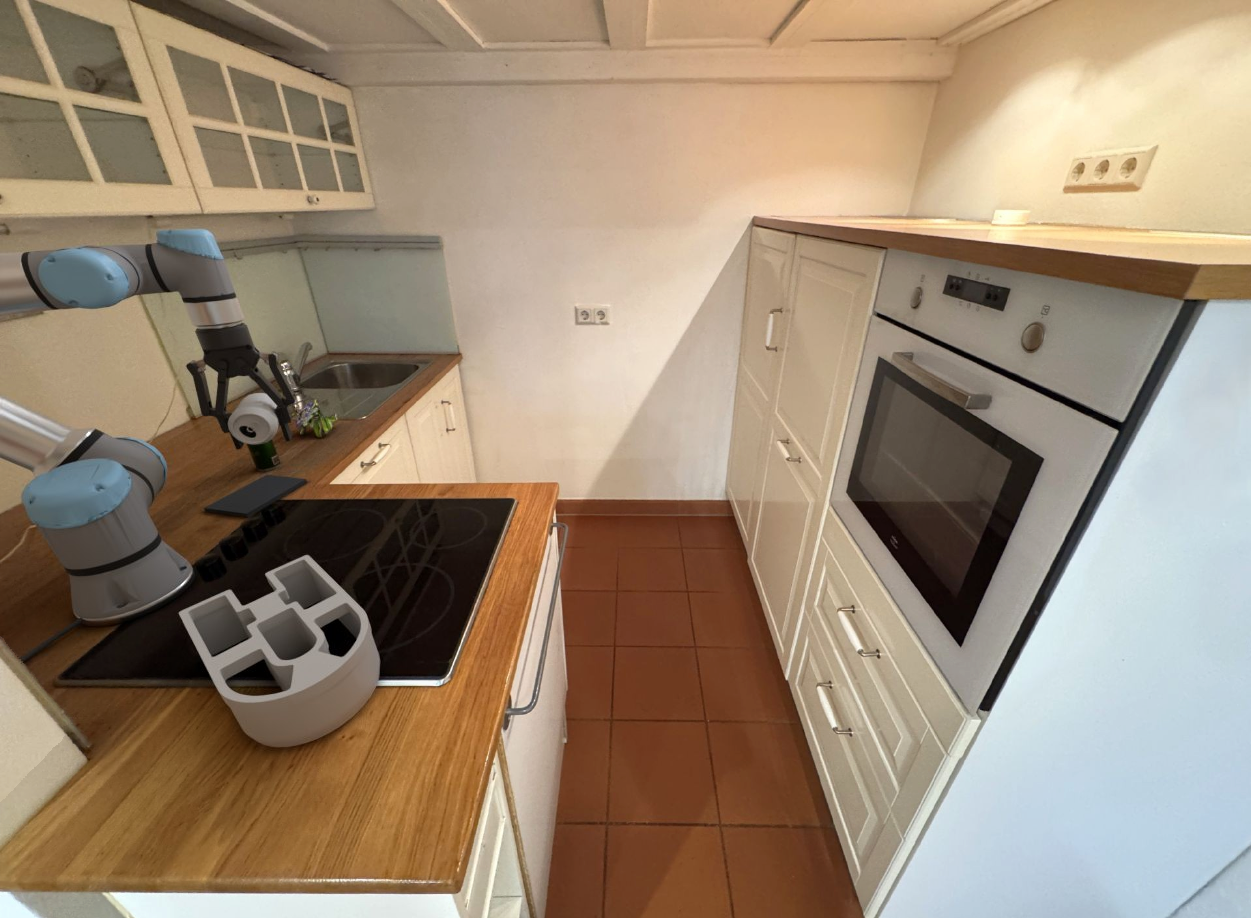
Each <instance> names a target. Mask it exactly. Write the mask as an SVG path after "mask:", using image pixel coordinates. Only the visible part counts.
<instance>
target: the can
mask: <svg viewBox="0 0 1251 918" xmlns="http://www.w3.org/2000/svg"><path fill="white" fill-rule="evenodd" d="M276 407H277V405H276V404H275V403H274V402H273V401H272V400H271V398H270V397H269V396H268V395H267V394H266V393H265V392H255V393H250V394H248V395H246V396H245V397H244V398H243V399H242V400H241V401H240V403H239V404H238V405H237V406H236V408H235V409H234V411H232V412H231V413H232V415H231V416H230V418H229V421H228V427H229V431H230V432H231V434H232V435H233V436H234V437H235V438H236V439H237V440H239V441H241V442H243V443H244V444H246V445H247V444H251V445H258V444H263V443H266V442H268V441H270V440H271V439H272V440H273V438H274V437H275V436H276V435H277V433H278V430H279V428H280V427H281V426H280V424H279V421H278V418H277V415H276V412H275V409H276Z"/></svg>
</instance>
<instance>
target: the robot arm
mask: <svg viewBox="0 0 1251 918" xmlns="http://www.w3.org/2000/svg"><path fill="white" fill-rule="evenodd" d="M155 236H156V242H152V243H146V244H111V245H109V244H108V245H106V244H105V245H95V244H93V245H80V246H74V247H67V248H60V249H47V250H45V249H43V250H33V251H15V252H0V316H9V315H19V314H20V315H21V314H29V313H39V312H48V311H57V310H59V311H60V310H72V309H86V310H98V309H105V308H110V307H114V306H115V305H118V304H119V303H120V302H122V301H125V300H126V299H129V298H132V297H135V296H143V295H155V294H165V293H167V294H168V293H176V292H177V293H179V295H180V297H181V301H182V302H183V305H184V307H185V310H186V313H187V316H188V318H189V320H190V322H191V323H190V324H191V325H192V326H194V327H196V329H195V330H194V332H195V335H196V337H197V340H198V343H199V345H200V347H201V350H202V353H203V357H202V358H201V359H197V360H194V359H193V360H191V361H189V362H188V363H187V364H186V365H185V367H186V369H187V371H188V372H189V373H190V375H191V376H192V379H193V382H194V387H195V393H196V397H197V401H198V406H199V410H200V414H201V416H203V417H214V418H216V420H217V422H218V424H219V427H220V429H221V432H222V433H224V434H228V433H229V435H230V437H231V440H232V442H233V444H234V447H235V449H236V450H242V449H243V447H244V445H245V443H243V442H241V441H239V440H237V439H236V438H235V437H234V436H233V435H232V434H231V432H230V431H229V427H228V421H229V418H230V416H231V415H232V413H233V412H228V413H227V411H228V410H227V405H228V396H229V395H228V394H229V385H230V379H234V378H237V377H248V378H250V379H251V380H252V381H254V382H255V384H256V385H257V386H258V387H259V388H260V390H262V391H263V393H265V394H267V395H268V396H269V397H270V398H271V400H272V401H273V402H274V403H275V404H276V405H277V407H276V409H275V412H276V415H277V418H278V421H279V424H280V426H279V427H280V430H281V432H282V434H283V437H284V440H285V442H290V441H291V440H292V437H293V435H292V432H291V428H290V426H289V424H291V423H292V421H293V417H292V416H291V414H292V413H291V411H290V408H289V406H290V405H294V404H295V402H296V400H297V395H296V393H295V392H294V389H293V388H292V386H291V383H290V382H289V380H288V377H287V376H286V374H285V373H284V370H283V368H282V367H281V365H280V361H279V360H280V359H279V354H278V352H277V351H271V352H263V351H260V350H259V349H258V348H257V347H256V346H255V344H254V341H253V338H252V335H251V333H250V329H249V327H248V325H247V324H246V323H245V322H243V321H244V320H245V316H244V313H243V310H242V308H241V304H240V301H239V300H238V296H237V294H236V291H235V288H234V285H233V283H232V279H231V276H230V274H229V270H228V268H227V265H226V261H225V257H224V256H223V254H222V253H221V250H220V248H219V245H218V243H217V240H216V238H215V236H214V235H213V233H212V232H211V231H209V230H207V229H205V228H182V229H181V228H179V229H159V230H157V231H156V232H155ZM260 360H262V361H263V362H264V363H265V365H268V366H269V369H270V371H271V373H272V375H273V377H274V379H275V381H276V383H277V385H278V387H279V388H280V390H281V393H282V394H283V395H284V396H283V395H282V394H281V393H280V391H279V390H278V389H277V388H276V387H275V386H274V385H273V384H272V383H271V381H270V380H269V379H267V377H266V376H265V375H264V373H263V372H262V371H261V369H260V368H259V367H258V363H259V361H260ZM206 366H207V367H208V368H211V369H212V370H214V371H215V372H217V378H216V383H217V384H216V386H217V387H216V395H215V405H214V407H213V403H212V397H211V393H210V389H209V384H208V380H207V376H206V370H207V368H206ZM0 459H1V460H4V461H7V462H9V463H12V464H13V465H17V466H19V467H21V468H23V469H25V470H26V469H27V470H28V471H30V472H32V474H33V477H34V478H33V479H31V480H30V481H29V482H28V483H27V484H26V485H25V486H24V487H23V490H22V491H21V494H20V500H21V502H22V505H23V506H24V508H25V511H26V516H27V517H28V519H29V520H30V521H31V523H33V524H34V525H35V527H36V529H37V530H38V531H39V533H40V534H41V536H42V537H43V539H44V540H45V542H46V543H47V545H48V546H49V547H50V549H51V550H52V552H53V554H54V555H55V557H56V558H57V559H58V561H59V562H60V564H61V565H62V567H63V569H64V570H65V571H66V573H67V575H68V576H69V582H70V583H69V584H70V595H71V607H72V612H73V614H74V615H75V617H76V618H77V619H76V620H75V621H73V622H72V623H70V624H68V625H67V626H66V627H64V628H62V629H61V630H60V631H58V632H56V633H55V634H53V635H52V636H50V637H49V638H47V639H46V640H44V641H42V642H41V643H40V644H39V645H37V646H35V647H34V648H33V649H31V650H30V651H28V652H27V653H25V654H24V655H23V656H21V657H19V658H18V659H21V661H23V663H25V662H26V661H28V660H29V659H30V658H32V657H33V656H35V655H37V654H38V653H40V652H41V651H43V650H44V649H45V648H47V647H49V645H51V644H52V643H54V642H55V641H57V640H59V639H60V638H62V637H63V636H64V635H66V634H67V633H69V632H70V631H72V630H74V629H75V628H76V627H78V626H79V625H81V624H82V625H85V626H89V627H105V626H111V625H112V626H113V625H118V624H122V623H125V622H128V621H129V622H130V621H133V620H135V619H139V618H141V617H143V616H145V615H148V614H150V613H153V612H154V611H156V610H159V609H160V608H162V607H164V606H166V605H168V604H169V603H171V602H172V601H174V600H176V599H177V598H179V596H181V595H182V594H183V593H184V592H186V591H187V590H188V589H189V588H190V587H191V585H192V584H193V582H194V581H195V579H196V572H195V570H194V568H193V566H192V564H191V563H190V562H189V561H188V560H187V559H186V558H185V557H183V556H182V555H181V554H180V553H178V552H177V550H174V548H172V547H171V546H170V545H169V544H167V543H166V542H165V541H164V540H163V538H162V537H161V535H160V532H159V531H158V529H157V527H156V524H155V523H154V522H153V519H152V518H151V516H150V513H149V510H150V508H151V507H152V505H153V504H154V501H155V499H156V497H157V496H158V495H159V493H161V491H162V490H163V489H164V487H165V485H166V482H167V475H168V464H167V461H166V459H165V457H164V455H163V454H162V453H161V452H160V451H159V449H157V448H156V447H155V446H154V445H152V444H151V443H149V442H147V441H145V440H142V439H138V438H135V437H130V436H129V437H128V436H122V437H121V436H119V437H117V436H116V437H115V436H112V435H111V434H108V433H105V432H103V431H101V430H100V429H97V428H95V427H86V428H73V427H71V426H69V425H67V424H65V423H63V422H61V421H58V420H57V419H55V418H52V417H50V416H48V415H46V414H44V413H42V412H40V411H37V410H35V409H33V408H31V407H30V406H27V405H25V404H22V403H21V402H19V401H16V400H15V399H12V398H10V397H8V396H6V395H4V394H2V393H0Z"/></svg>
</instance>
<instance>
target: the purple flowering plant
mask: <svg viewBox="0 0 1251 918" xmlns="http://www.w3.org/2000/svg"><path fill="white" fill-rule="evenodd" d="M299 407H300V405H298V404H297V405H296V406H294V409H292V412H291V413H290V414H291V416H292V418H293V417H294V416H295V415H296V414H298V417H297V418H296V420H295V423H296V424H295V425H296V428H297V429H298V430H300V433H299V434H300V435H302V436H303V435H305V434H306V430H307V427H308V426H309V427H310V428H311V429H313V430H314V433H315V436H316V437H318V438H323V436H322V430H323V431H324V434H325V435H328V433H329V432H330V431H331V430H332V429H334V427H333V422H335V423H336V422H339V419H338V414H337V413H333V414H331V415H326V416H325V414H324V412H323V411H322V409H321V406H320V405H319V404H318V401H317V398H315V399H313V401H312V402H311V401H310V402H308V403H307V404H305V406H303V407H301V412H300V411H298V409H299ZM333 416H334V417H333Z"/></svg>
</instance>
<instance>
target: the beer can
mask: <svg viewBox="0 0 1251 918" xmlns="http://www.w3.org/2000/svg"><path fill="white" fill-rule="evenodd" d="M246 447H247V449H248V451H249V453H250V456H251V459H252V462H253V464H254V467H255V469H256V470H258V471H259V472H262V473H263V472H269V471H273V470H276V469H277V468H279V467H280V466H281V460H280V457H279V454H278V452H277V450H276V446H275V444H274V441H273V438H272V439H271V440H270V441H268V442H266V443H263V444H258V445H251V444H246Z"/></svg>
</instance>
